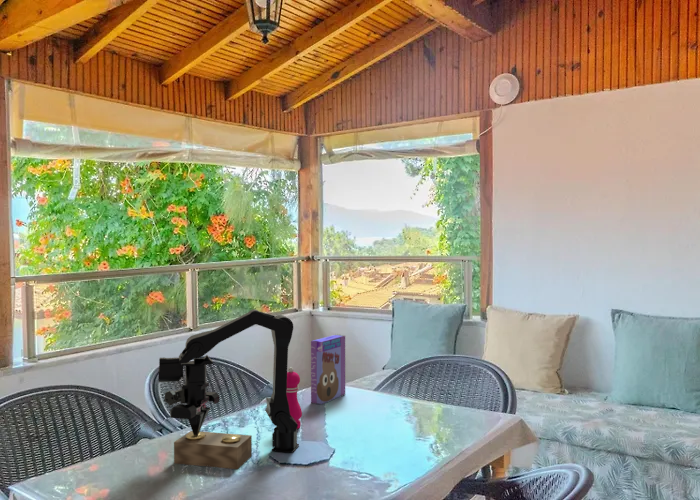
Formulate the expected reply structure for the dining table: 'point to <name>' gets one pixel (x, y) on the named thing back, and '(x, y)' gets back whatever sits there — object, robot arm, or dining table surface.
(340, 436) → the dining table surface
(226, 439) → the peg
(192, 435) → the peg
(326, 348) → the cereal box
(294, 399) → the pepper mill
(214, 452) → the block
